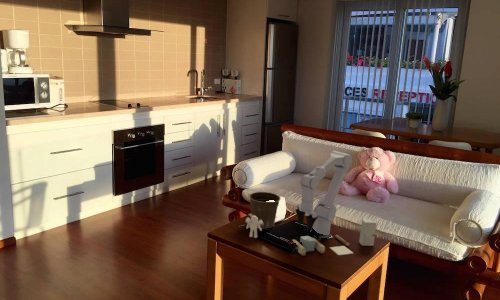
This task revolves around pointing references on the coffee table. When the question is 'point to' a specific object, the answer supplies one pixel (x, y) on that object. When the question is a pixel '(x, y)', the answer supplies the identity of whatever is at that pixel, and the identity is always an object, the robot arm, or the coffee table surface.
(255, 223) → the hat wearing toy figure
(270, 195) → the plant pot
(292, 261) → the coffee table surface
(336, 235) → the dowel
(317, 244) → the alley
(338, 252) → the coaster
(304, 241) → the block
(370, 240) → the skincare box
